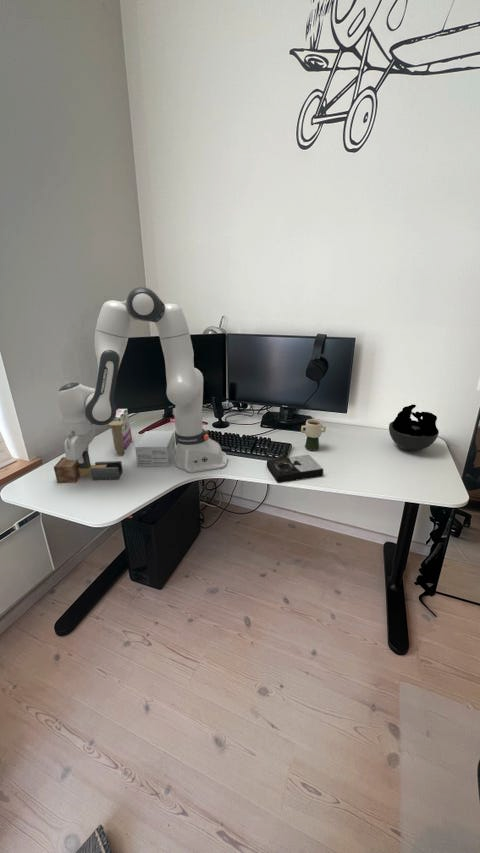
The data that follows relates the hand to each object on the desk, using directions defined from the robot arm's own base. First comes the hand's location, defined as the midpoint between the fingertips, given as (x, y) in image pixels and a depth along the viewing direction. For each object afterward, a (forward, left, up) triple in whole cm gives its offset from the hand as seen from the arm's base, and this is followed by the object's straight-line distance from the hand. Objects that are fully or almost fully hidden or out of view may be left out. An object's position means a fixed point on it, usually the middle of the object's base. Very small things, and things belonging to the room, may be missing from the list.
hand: (83, 459), depth 136 cm
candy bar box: (-7, -28, -8) cm, 30 cm away
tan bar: (0, 0, -6) cm, 6 cm away
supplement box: (-25, -15, -8) cm, 30 cm away
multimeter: (-82, +1, -8) cm, 82 cm away
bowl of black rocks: (-138, -16, -8) cm, 139 cm away
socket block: (+6, 0, -8) cm, 10 cm away
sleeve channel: (-8, 0, -8) cm, 11 cm away
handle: (-8, -19, -8) cm, 22 cm away
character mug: (-94, -19, -8) cm, 96 cm away
